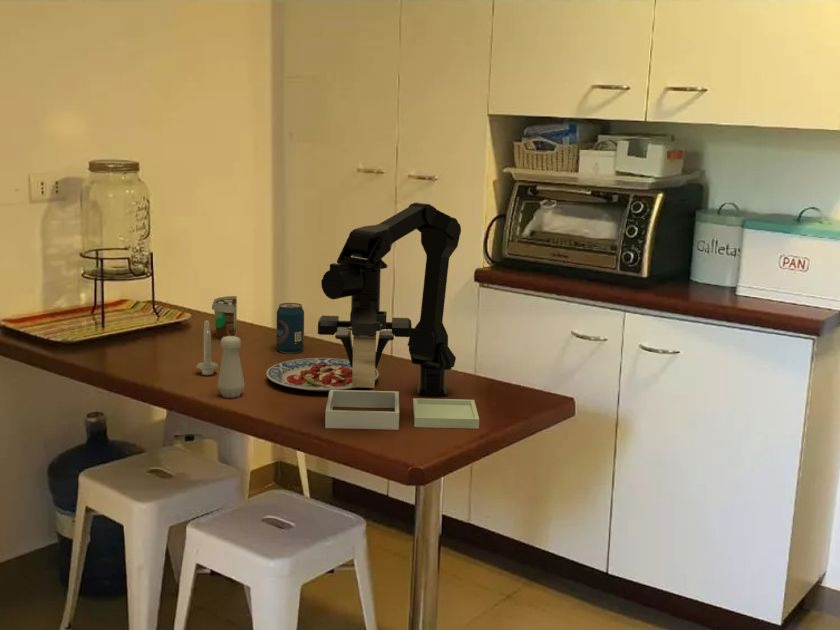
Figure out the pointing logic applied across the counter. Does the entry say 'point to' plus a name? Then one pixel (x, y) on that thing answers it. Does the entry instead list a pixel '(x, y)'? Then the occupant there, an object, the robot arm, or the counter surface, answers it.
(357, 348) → the birch peg
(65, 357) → the counter surface
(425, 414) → the tray
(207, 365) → the screw
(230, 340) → the salt shaker
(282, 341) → the soda can
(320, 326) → the robot arm
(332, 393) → the frame
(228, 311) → the food container
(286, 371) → the ceramic plate
